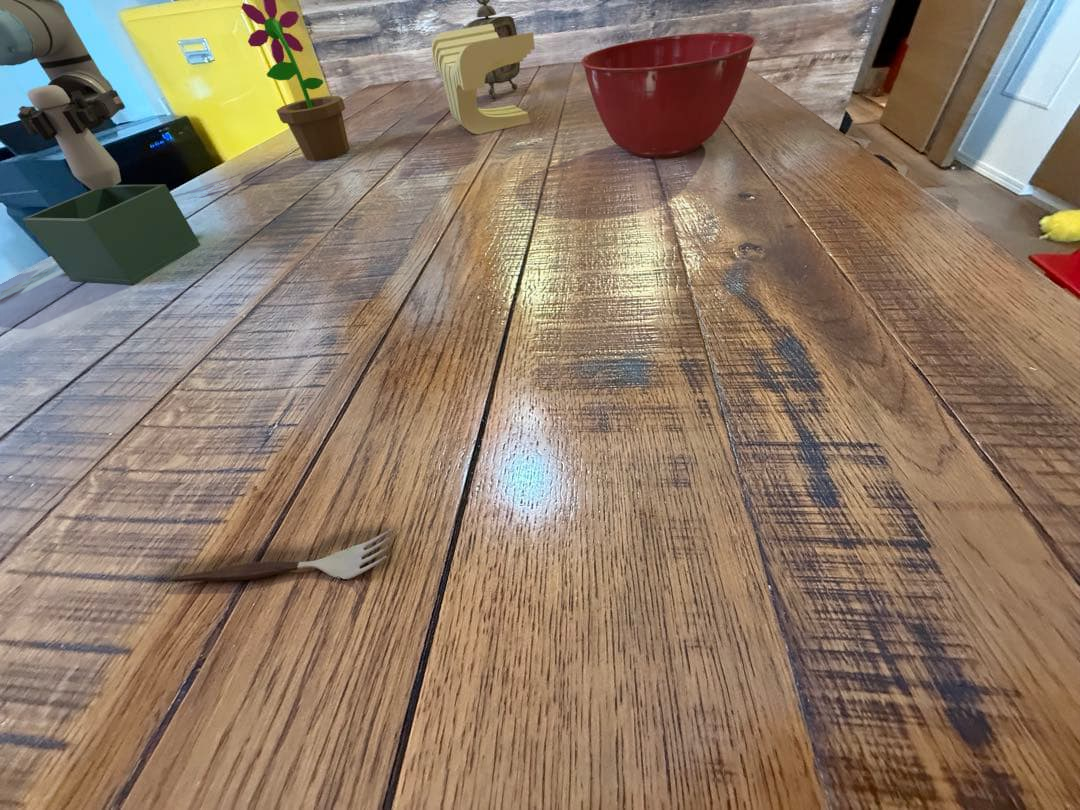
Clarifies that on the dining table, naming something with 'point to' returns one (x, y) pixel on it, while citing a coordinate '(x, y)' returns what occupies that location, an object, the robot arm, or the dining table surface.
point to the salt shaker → (76, 141)
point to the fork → (298, 565)
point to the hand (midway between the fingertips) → (57, 125)
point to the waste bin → (114, 233)
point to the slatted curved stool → (478, 73)
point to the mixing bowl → (667, 89)
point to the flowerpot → (311, 118)
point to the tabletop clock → (503, 29)
